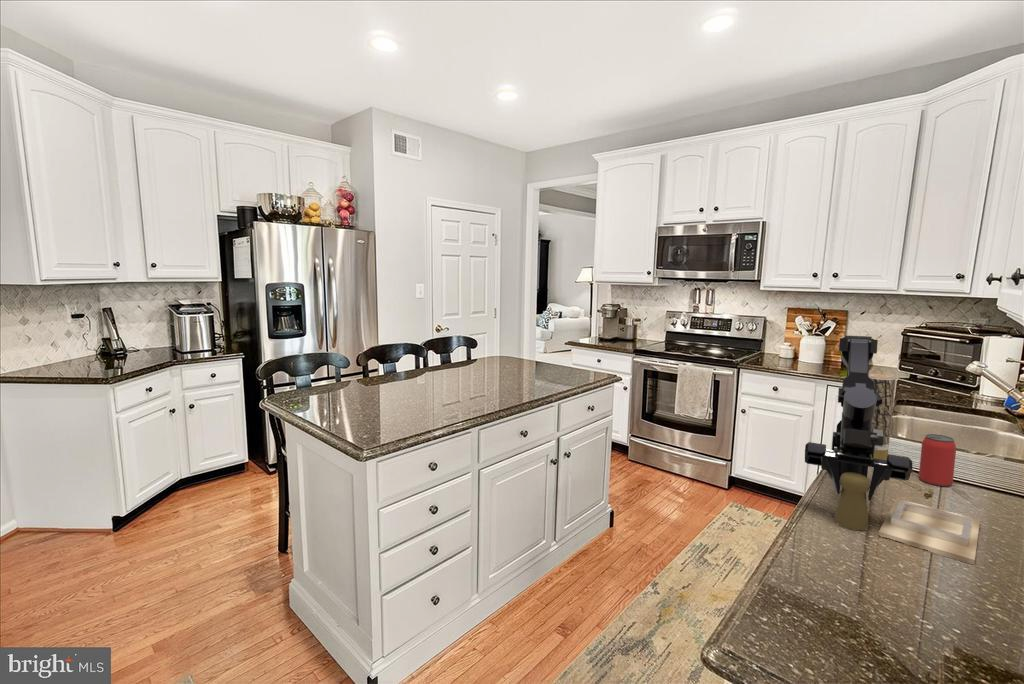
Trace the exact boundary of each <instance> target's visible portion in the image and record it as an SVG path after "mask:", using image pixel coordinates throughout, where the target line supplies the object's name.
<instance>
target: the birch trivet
mask: <svg viewBox="0 0 1024 684" xmlns="http://www.w3.org/2000/svg"><path fill="white" fill-rule="evenodd" d="M900 501H903V502H907V503H911V504H915V505H919V506H923V507H927V508H931V509H935V510H939V511H943V512H947V513H951V514H955V515H959V516H963V517H967V518H971V519H972V522H971V529H970V535H969V541H968V546H963V545H960V544H956V543H953V542H949V541H946V540H942V539H939V538H935V537H931V536H928V535H924V534H921V533H917V532H914V531H910V530H907V529H903V528H900V527H896V526H892V525H891V518H892V516H893V514H894V512H895V510H896V508H897V506H898V504H899V502H900ZM901 519H903V520H907V521H910V522H914V523H918V524H921V525H925V526H929V527H932V528H936V529H940V530H944V531H947V532H951V533H955V534H958V535H962V530H963V525H960V524H956V523H952V522H948V521H944V520H941V519H937V518H933V517H929V516H925V515H921V514H917V513H914V512H910V511H906V510H905V511H904V513H903V515H902V517H901ZM980 525H981V519H980V518H977V517H973V516H969V515H964V514H960V513H958V512H957V513H956V512H952V511H949V510H946V509H945V510H944V509H942V508H941V509H940V508H937V507H933V506H929V505H925V504H921V503H916V502H912V501H909V500H904V499H900V498H896V499H895V501H894V503H893V505H892V507H891V508H890V510H889V512H888V514H887V516H886V518H885V519H884V521H883V523H882V524H881V527H880V529H879V530H878V535H880V536H883V537H887V538H890V539H893V540H897V541H901V542H904V543H907V544H910V545H914V546H917V547H921V548H924V549H926V550H928V551H927V552H929V551H930V552H929V553H932V554H936V555H940V556H942V557H945V558H949V559H953V560H957V561H960V562H963V563H965V564H969V565H972V564H973V565H972V566H975V563H974V562H976V555H977V554H976V553H977V547H978V546H977V545H978V540H979V532H980ZM878 535H877V536H878Z"/></svg>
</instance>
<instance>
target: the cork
mask: <svg viewBox="0 0 1024 684" xmlns="http://www.w3.org/2000/svg"><path fill="white" fill-rule="evenodd" d="M870 484H871V481H870V480H869V478H868V476H867V477H866V476H864V475H861V474H858V473H853V472H846V473H843V474H842V475H841V477H840V487H841V490H840V494H839V495H840V496H839V498H838V499H839V500H838V504H837V507H836V512H835V515H834V519H835V521H834V522H835V523H836V524H837V523H838V524H839V525H838V524H837V525H838V526H840V527H842V528H844V527H845V528H844V529H847V528H849V529H848V530H850V529H855V530H866V529H868V528H869V529H870V527H869V525H870V524H869V516H868V515H869V514H868V504H867V503H868V501H867V500H868V498H867V492H869V489H870ZM869 529H868V530H869ZM855 530H854V531H855ZM866 531H867V530H866Z"/></svg>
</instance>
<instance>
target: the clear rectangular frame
mask: <svg viewBox="0 0 1024 684" xmlns="http://www.w3.org/2000/svg"><path fill="white" fill-rule="evenodd" d="M905 510H906V511H910V512H914V513H917V514H921V515H925V516H929V517H933V518H937V519H941V520H944V521H948V522H952V523H956V524H960V525H963V530H962V535H958V534H955V533H951V532H947V531H944V530H940V529H936V528H932V527H929V526H925V525H921V524H918V523H914V522H910V521H907V520H903V519H901V517H902V515H903V513H904V511H905ZM971 522H972V519H971V518H967V517H963V516H959V515H955V514H951V513H947V512H943V511H939V510H935V509H931V508H927V507H923V506H919V505H915V504H911V503H907V502H903V501H900V502H899V504H898V506H897V508H896V510H895V512H894V514H893V516H892V518H891V525H892V526H896V527H900V528H903V529H907V530H910V531H914V532H917V533H921V534H924V535H928V536H931V537H935V538H939V539H942V540H946V541H949V542H953V543H956V544H960V545H963V546H968V541H969V535H970V529H971Z"/></svg>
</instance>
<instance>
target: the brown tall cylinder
mask: <svg viewBox="0 0 1024 684" xmlns="http://www.w3.org/2000/svg"><path fill="white" fill-rule="evenodd" d="M869 378H871V379H872V380H873V381H874V382H875V391H877V392H878V393H879V395H880V396H881V398H882V399H883V400H882V405H881V404H879V407H875V412H874V416H873V418H872V431H873V429H877V430H884V443H883V446H876V445H875V449H874V457H873V458H876V459H882V460H887V456H888V454H889V449H890V438H891V437H890V436H891V428H892V426H891V425H892V415H893V406H894V405H893V403H894V394H895V384H896V377H895V376H893V375H889V374H881V373H880V374H879V373H869Z"/></svg>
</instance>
